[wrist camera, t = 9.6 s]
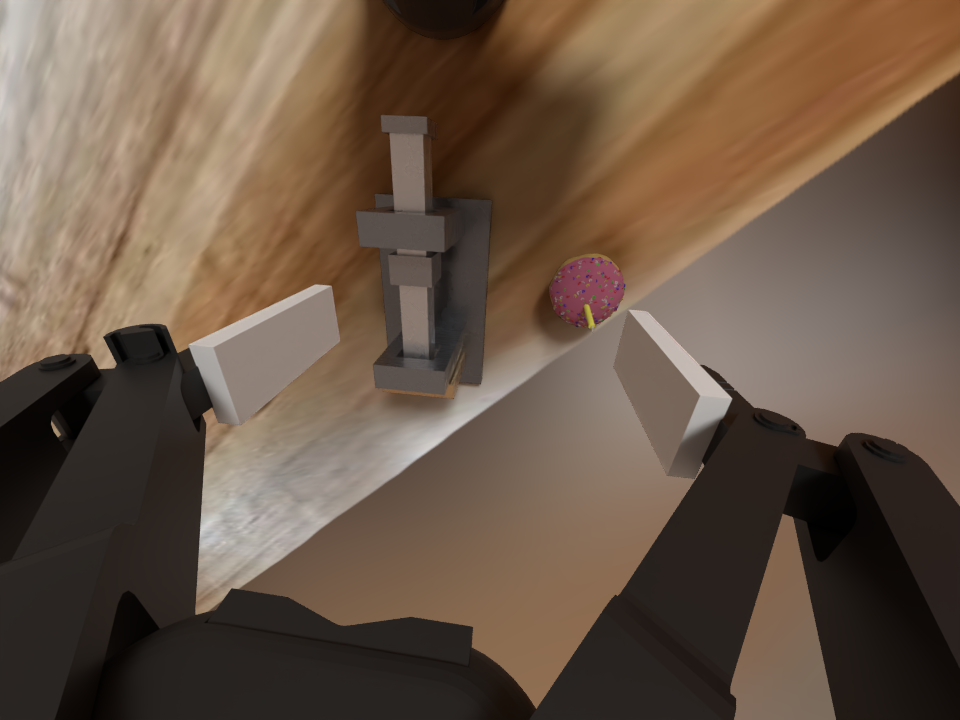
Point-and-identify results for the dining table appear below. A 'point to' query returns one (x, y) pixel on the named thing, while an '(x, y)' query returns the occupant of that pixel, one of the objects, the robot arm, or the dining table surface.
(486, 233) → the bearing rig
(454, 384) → the block
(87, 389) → the robot arm
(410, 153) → the shaft
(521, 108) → the dining table surface
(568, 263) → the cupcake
